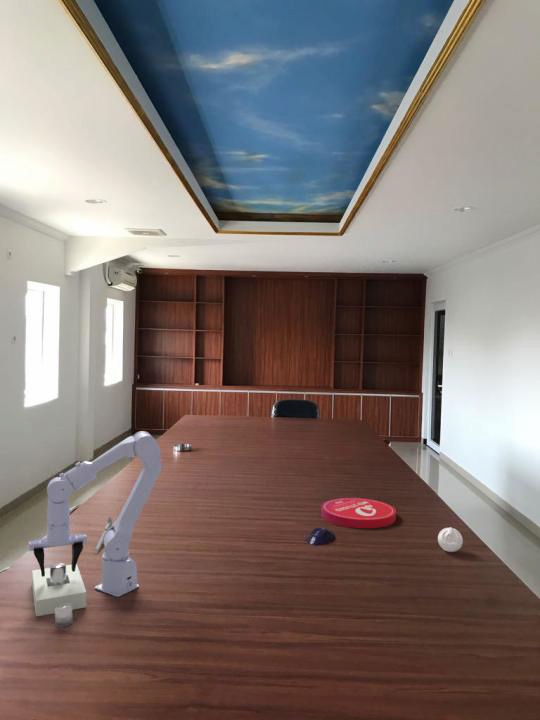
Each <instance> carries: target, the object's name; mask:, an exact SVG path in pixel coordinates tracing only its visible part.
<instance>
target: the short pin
mask: <svg viewBox="0 0 540 720" xmlns="http://www.w3.org/2000/svg"><path fill="white" fill-rule="evenodd" d="M73 619H74V618H73V610H72V604H71V603H62V604H59V605H57V606H56V607H55V613H54V625H55V626H56V627H58V628H65V627H68V626H71V624H73V622H74V621H73Z"/></svg>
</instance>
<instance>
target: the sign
mask: <svg viewBox="0 0 540 720" xmlns="http://www.w3.org/2000/svg"><path fill="white" fill-rule="evenodd" d="M320 511H321V512H320V513H321V518H323V519H324V520H325V521H327V522H329V523H332V524H334V525H338V526H342V527H347V528H356V529H375V528H376V529H377V528H378V529H379V528H384V527H388V526H391V525H393V524H394V523H395V522H396V520H397V518H396V517H397V511H396V508H395V507H393V506H392V505H390V504H388V503H386V502H383V501H379V500H375V499H369V498H361V497H342V498H335V499H330V500H327V501H325V502H323V503H322V504H321V509H320Z"/></svg>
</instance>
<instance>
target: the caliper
mask: <svg viewBox="0 0 540 720" xmlns="http://www.w3.org/2000/svg"><path fill="white" fill-rule="evenodd" d="M107 518H108V519H107V523H106V525H105V527H104V529H103V530H104V531H103V532H102V534H101V536H100V538H99V540H98V542H97V545H96V547H95V548H94V551H93V552H94V553H93V554H94V555H97V554H98V553H99V552H100V550H101V548H102V546H103V545H104V543H103V536H104V534H105V532H106V531H107V530H108V529H110V528H111V527H112V525H113V519H112V517H111V516H109V517H107Z"/></svg>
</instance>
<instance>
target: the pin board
mask: <svg viewBox="0 0 540 720" xmlns="http://www.w3.org/2000/svg"><path fill="white" fill-rule="evenodd" d="M44 570H45V576H43V577H42V575H41V568H39V569H33V570H31V588H32V597H33V604H34V612H35V613H34V614H35V617H41V616H48V615H51V614H55V607H56V606H57V605H59V604H62V603H71V604H72V611H74V610H77V609H84V608H87V590H86V587H85V583H84V581H83V577H82V575H81V572H80V569H79V566H78V563H77V564H76V568H75V571H74V572H72V564H66V584H62V585H56V586H50V567H46V568H45V567H44Z"/></svg>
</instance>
